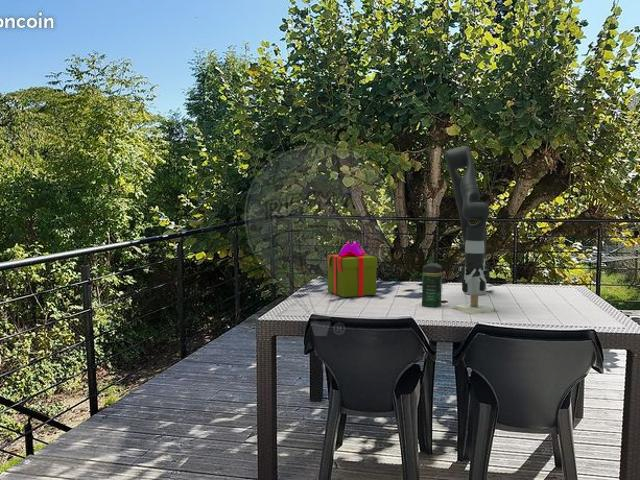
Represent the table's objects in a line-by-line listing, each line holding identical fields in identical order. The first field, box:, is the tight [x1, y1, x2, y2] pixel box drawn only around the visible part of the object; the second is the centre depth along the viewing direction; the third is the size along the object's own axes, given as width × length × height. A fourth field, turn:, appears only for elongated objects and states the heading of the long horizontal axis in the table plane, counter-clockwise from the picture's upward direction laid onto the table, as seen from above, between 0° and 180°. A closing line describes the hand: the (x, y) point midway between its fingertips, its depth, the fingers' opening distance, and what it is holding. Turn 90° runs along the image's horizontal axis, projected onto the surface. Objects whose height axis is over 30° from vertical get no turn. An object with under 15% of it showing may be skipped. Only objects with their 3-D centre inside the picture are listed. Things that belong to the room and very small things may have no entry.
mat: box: [450, 306, 500, 315], centre depth 233 cm, size 14×14×1 cm
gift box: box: [326, 241, 378, 298], centre depth 273 cm, size 21×21×25 cm
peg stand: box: [454, 294, 495, 313], centre depth 233 cm, size 11×11×6 cm
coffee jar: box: [421, 262, 443, 309], centre depth 242 cm, size 10×8×19 cm
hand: (473, 291), depth 232 cm, fingers open, 8 cm apart
